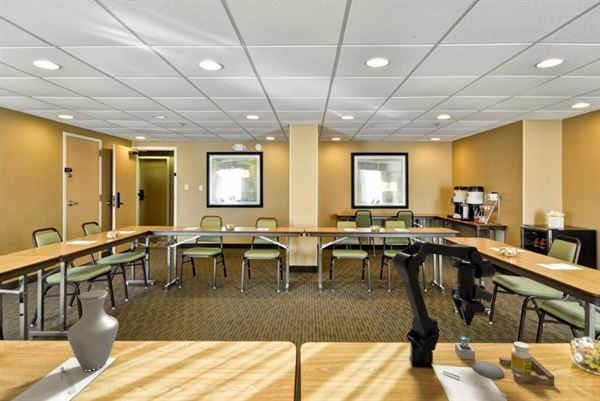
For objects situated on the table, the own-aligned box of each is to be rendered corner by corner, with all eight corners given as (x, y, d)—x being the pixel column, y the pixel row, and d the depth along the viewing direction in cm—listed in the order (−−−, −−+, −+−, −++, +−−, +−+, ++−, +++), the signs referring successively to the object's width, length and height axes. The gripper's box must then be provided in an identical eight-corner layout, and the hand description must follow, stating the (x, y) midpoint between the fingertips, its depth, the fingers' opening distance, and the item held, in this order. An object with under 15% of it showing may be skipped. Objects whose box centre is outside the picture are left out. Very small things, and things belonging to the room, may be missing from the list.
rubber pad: (478, 377, 98) (478, 375, 98) (467, 361, 107) (467, 360, 107) (509, 380, 96) (509, 378, 96) (496, 364, 105) (496, 362, 105)
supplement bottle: (515, 366, 104) (515, 339, 103) (534, 374, 99) (534, 345, 99) (507, 372, 101) (508, 343, 100) (526, 380, 96) (527, 350, 96)
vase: (128, 355, 111) (127, 287, 110) (98, 380, 96) (96, 302, 96) (91, 353, 112) (90, 286, 111) (56, 377, 98) (54, 300, 97)
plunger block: (459, 358, 109) (459, 349, 109) (455, 350, 114) (455, 342, 114) (474, 359, 108) (475, 351, 108) (469, 352, 113) (469, 344, 113)
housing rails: (516, 382, 95) (516, 373, 95) (499, 362, 106) (499, 354, 106) (554, 386, 93) (554, 376, 93) (533, 365, 104) (533, 357, 104)
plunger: (461, 350, 110) (461, 340, 110) (458, 345, 113) (458, 336, 113) (471, 350, 109) (471, 341, 109) (467, 346, 112) (468, 336, 112)
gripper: (503, 289, 100) (502, 336, 100) (479, 273, 118) (478, 313, 119) (466, 287, 102) (465, 333, 102) (448, 272, 120) (448, 311, 120)
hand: (465, 322), depth 111 cm, fingers open, 5 cm apart
